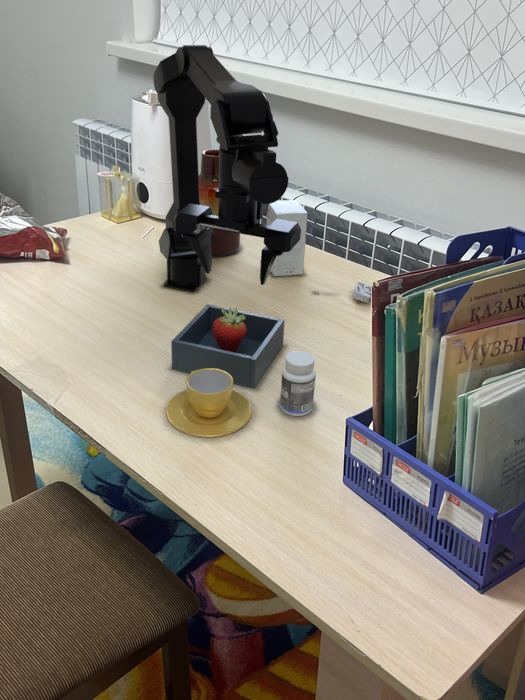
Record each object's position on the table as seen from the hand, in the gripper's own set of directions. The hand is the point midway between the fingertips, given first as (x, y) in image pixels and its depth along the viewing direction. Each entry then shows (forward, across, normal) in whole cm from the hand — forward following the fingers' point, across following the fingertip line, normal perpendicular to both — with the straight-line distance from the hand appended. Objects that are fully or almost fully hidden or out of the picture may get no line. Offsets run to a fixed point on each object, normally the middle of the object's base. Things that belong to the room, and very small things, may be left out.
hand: (235, 278), depth 109 cm
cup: (+12, -4, +20) cm, 23 cm away
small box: (+12, +2, -32) cm, 34 cm away
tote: (+12, -1, +5) cm, 13 cm away
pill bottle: (+12, -15, +14) cm, 24 cm away
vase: (+12, +19, -36) cm, 43 cm away
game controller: (+12, -13, -25) cm, 31 cm away
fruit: (+11, -1, +5) cm, 12 cm away
